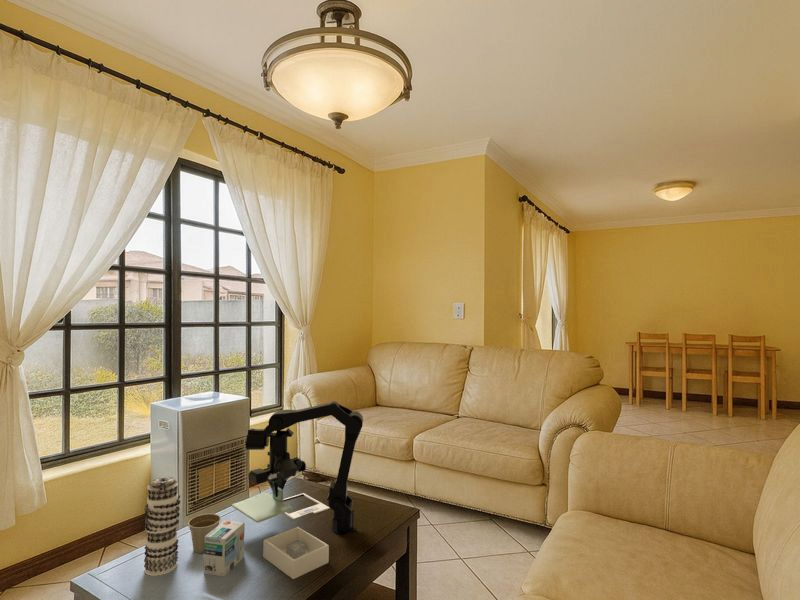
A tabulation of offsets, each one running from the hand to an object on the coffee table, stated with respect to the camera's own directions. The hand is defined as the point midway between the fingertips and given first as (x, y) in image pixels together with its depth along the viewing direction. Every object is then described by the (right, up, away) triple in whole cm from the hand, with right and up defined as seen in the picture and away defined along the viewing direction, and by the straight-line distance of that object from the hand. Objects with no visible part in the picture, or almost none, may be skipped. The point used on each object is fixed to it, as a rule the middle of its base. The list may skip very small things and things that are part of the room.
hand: (277, 496), depth 154 cm
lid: (-4, -3, -4) cm, 6 cm away
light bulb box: (-10, -11, -21) cm, 26 cm away
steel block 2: (+11, -11, -22) cm, 27 cm away
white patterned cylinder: (-27, -11, -22) cm, 37 cm away
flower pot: (-20, -11, -12) cm, 26 cm away
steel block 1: (+9, -11, -15) cm, 21 cm away
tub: (+10, -11, -18) cm, 24 cm away
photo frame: (+3, -13, +19) cm, 23 cm away
